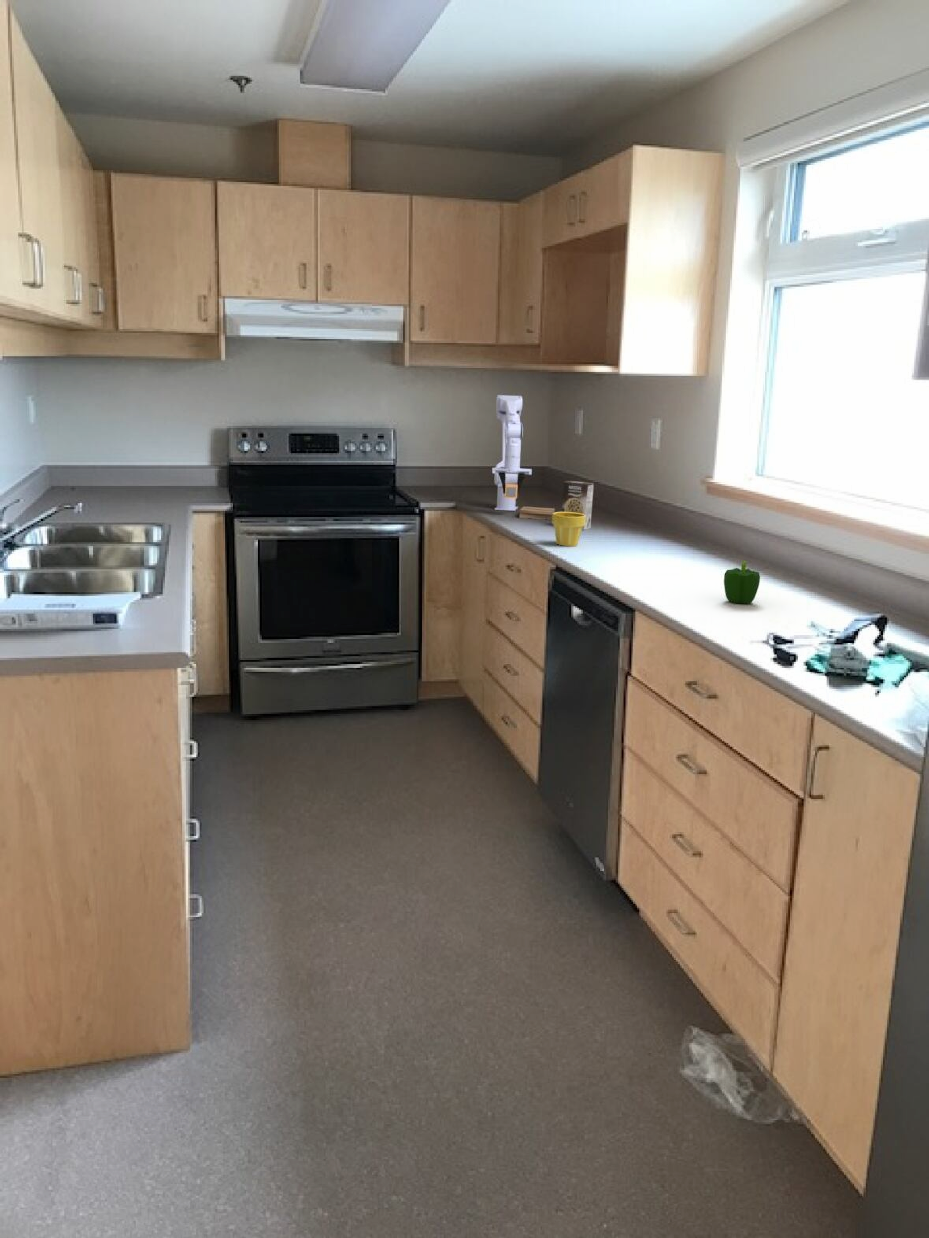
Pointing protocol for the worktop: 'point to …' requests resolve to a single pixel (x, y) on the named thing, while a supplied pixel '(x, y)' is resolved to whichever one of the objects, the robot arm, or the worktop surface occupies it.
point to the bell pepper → (741, 584)
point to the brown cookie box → (578, 499)
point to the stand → (537, 513)
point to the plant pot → (568, 527)
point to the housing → (511, 490)
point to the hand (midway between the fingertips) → (510, 493)
